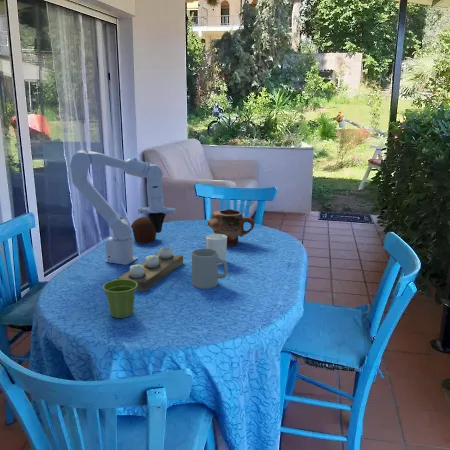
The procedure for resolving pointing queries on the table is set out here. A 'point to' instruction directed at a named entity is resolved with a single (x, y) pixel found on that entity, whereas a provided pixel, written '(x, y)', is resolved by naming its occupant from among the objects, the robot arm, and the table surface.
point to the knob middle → (152, 261)
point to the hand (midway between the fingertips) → (158, 232)
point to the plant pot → (120, 297)
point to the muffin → (143, 230)
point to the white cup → (217, 244)
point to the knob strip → (155, 272)
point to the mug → (206, 268)
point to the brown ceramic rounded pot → (230, 225)
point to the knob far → (165, 252)
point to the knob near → (137, 271)
